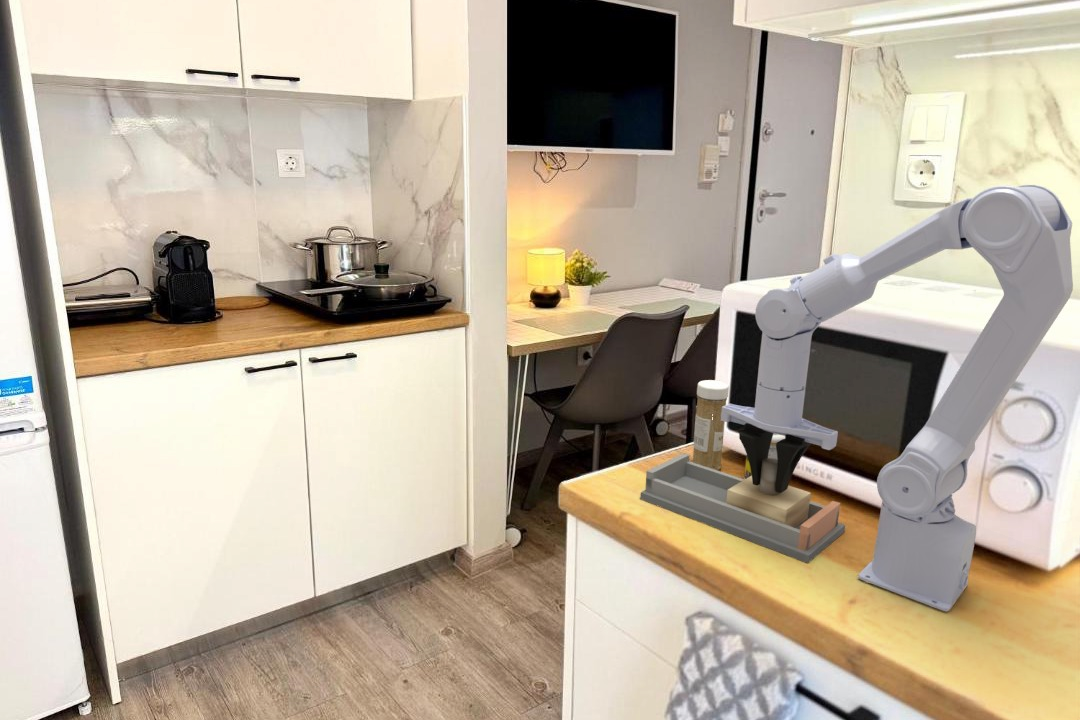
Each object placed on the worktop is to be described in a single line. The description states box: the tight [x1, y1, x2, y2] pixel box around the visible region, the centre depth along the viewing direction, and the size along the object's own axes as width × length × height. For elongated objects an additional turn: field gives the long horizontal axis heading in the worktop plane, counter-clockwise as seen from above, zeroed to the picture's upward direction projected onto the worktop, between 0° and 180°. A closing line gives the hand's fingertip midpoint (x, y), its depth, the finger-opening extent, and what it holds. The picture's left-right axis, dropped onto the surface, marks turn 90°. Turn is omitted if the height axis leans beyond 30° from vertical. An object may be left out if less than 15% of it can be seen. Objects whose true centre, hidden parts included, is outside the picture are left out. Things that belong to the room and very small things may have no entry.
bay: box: [639, 452, 846, 564], centre depth 100 cm, size 24×11×4 cm, turn 47°
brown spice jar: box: [691, 379, 730, 471], centre depth 114 cm, size 5×5×14 cm
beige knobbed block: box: [726, 458, 812, 528], centre depth 97 cm, size 8×7×8 cm
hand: (769, 486), depth 97 cm, fingers closed on beige knobbed block, 2 cm apart
